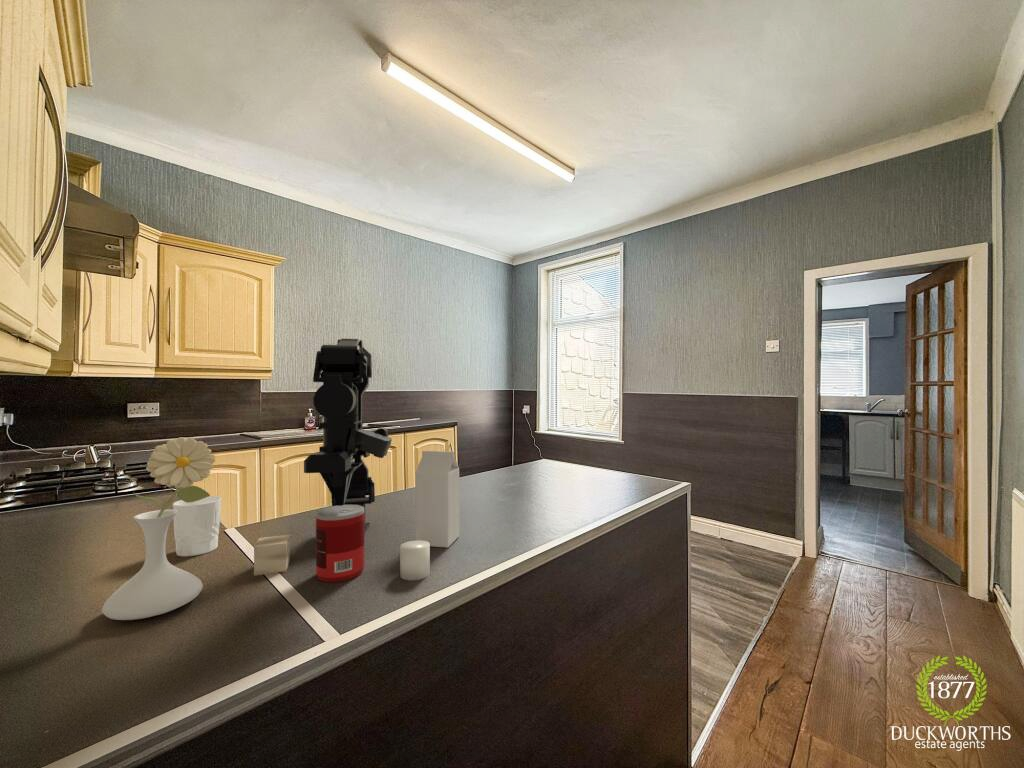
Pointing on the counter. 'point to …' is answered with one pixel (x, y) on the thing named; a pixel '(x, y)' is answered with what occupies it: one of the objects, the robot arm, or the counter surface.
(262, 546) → the birch block
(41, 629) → the counter surface
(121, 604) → the flower in vase
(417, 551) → the off-white smooth rounded part
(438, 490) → the milk carton
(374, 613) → the counter surface
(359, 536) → the canned food
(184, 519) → the white cup
